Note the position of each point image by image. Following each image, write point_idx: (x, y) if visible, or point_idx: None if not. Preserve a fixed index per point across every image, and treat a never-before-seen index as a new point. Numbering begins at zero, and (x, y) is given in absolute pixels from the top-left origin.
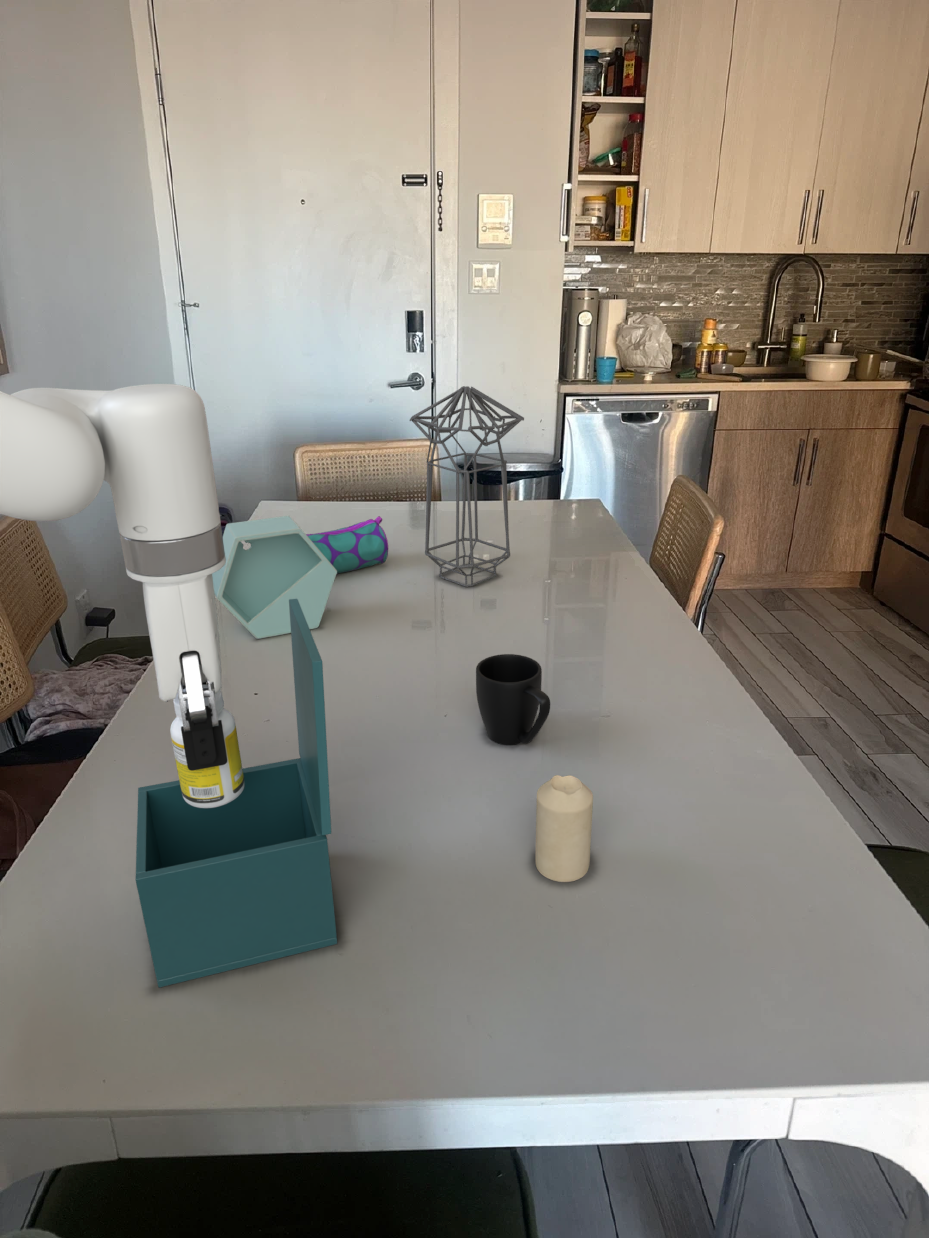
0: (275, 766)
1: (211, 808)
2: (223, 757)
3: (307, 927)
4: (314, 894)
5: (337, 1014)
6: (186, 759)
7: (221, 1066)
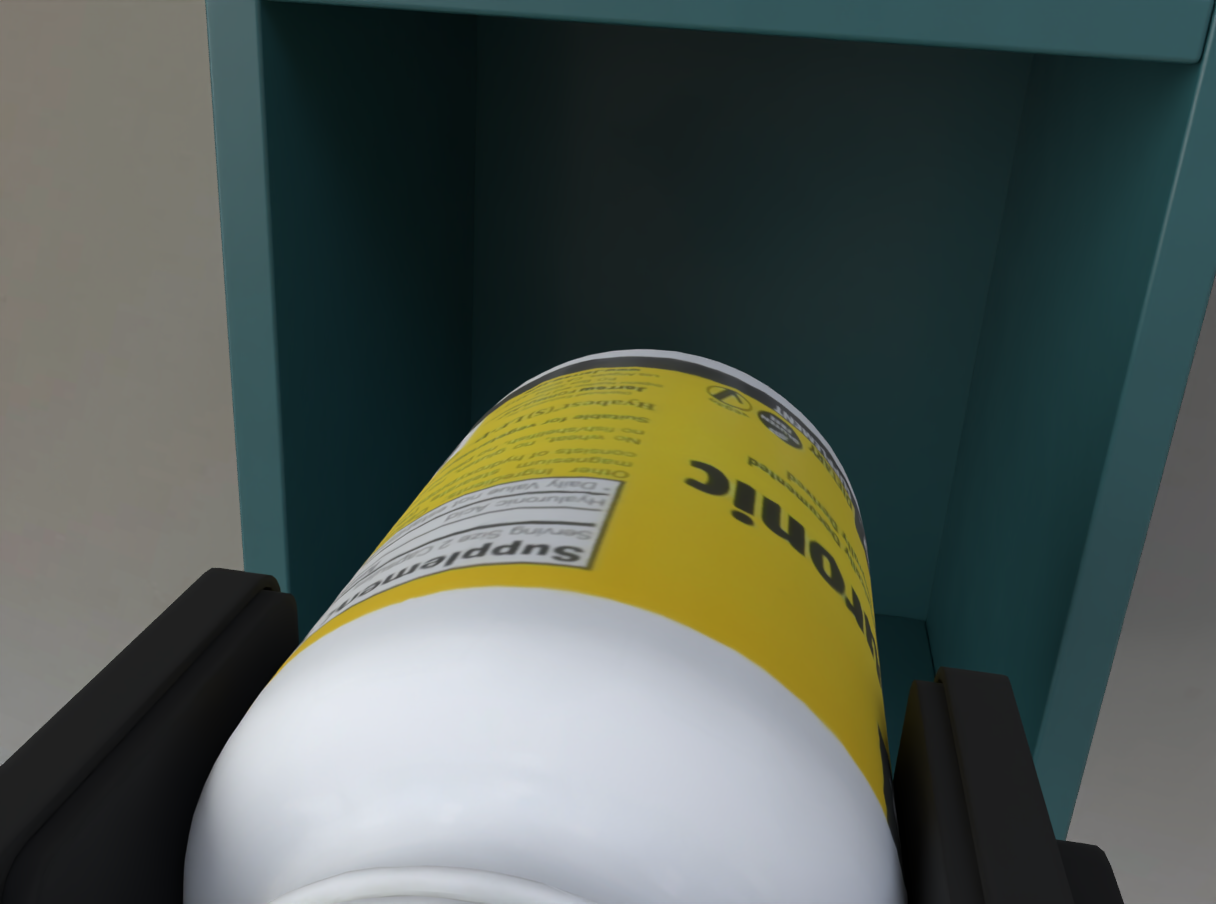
0: None
1: (1052, 400)
2: None
3: None
4: None
5: (184, 486)
6: (161, 617)
7: (81, 135)
